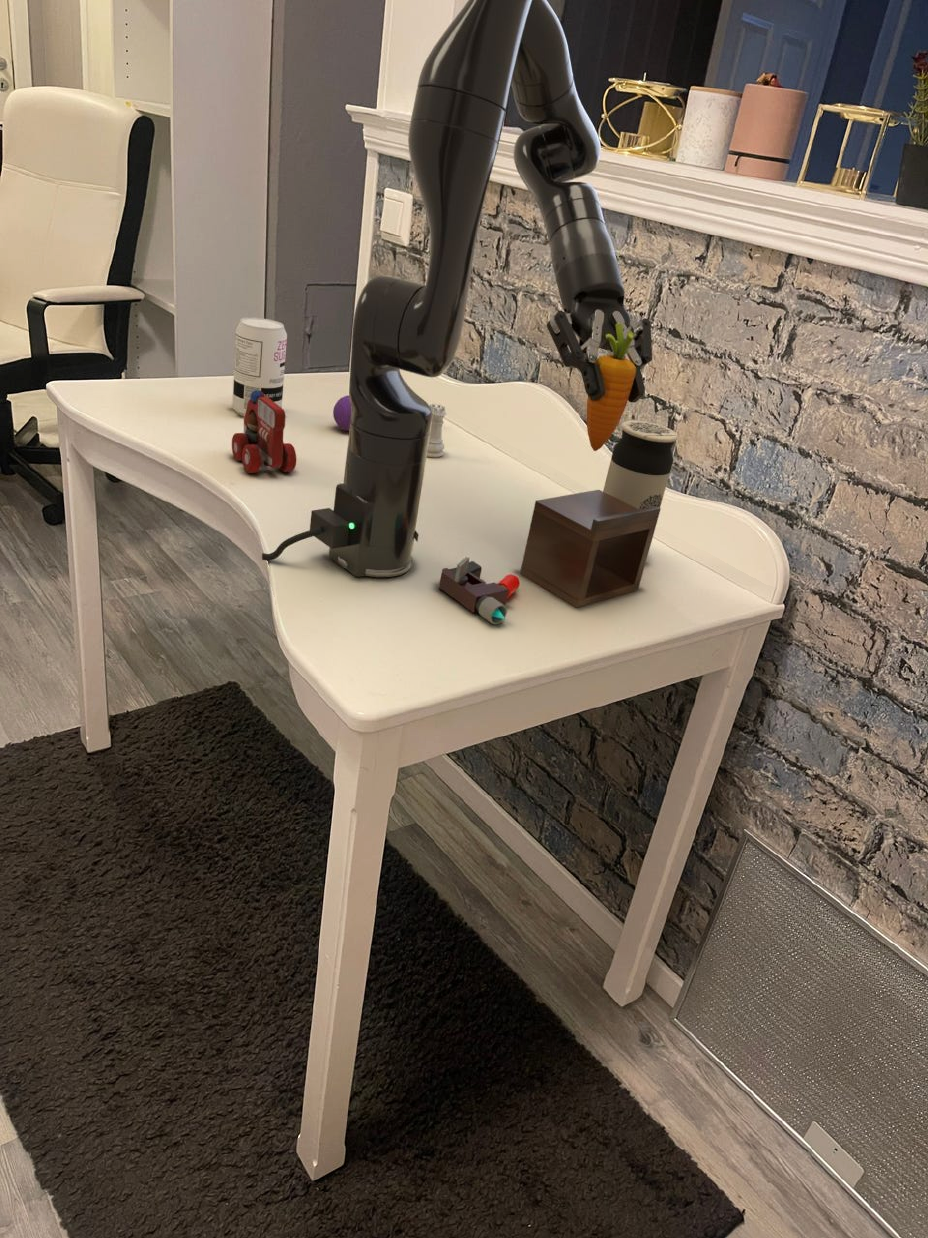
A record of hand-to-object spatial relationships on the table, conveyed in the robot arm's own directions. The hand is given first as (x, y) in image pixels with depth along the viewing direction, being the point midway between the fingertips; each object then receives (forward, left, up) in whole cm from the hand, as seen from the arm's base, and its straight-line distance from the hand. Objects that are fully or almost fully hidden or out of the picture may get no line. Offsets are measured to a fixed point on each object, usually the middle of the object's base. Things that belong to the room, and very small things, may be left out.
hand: (617, 397), depth 110 cm
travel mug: (+13, +3, -24) cm, 27 cm away
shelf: (0, -1, -24) cm, 24 cm away
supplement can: (-6, +69, -24) cm, 74 cm away
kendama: (+12, +57, -24) cm, 63 cm away
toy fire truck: (-18, +47, -24) cm, 56 cm away
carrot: (0, +2, -7) cm, 8 cm away
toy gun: (-15, 0, -24) cm, 28 cm away
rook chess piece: (+12, +44, -24) cm, 52 cm away
